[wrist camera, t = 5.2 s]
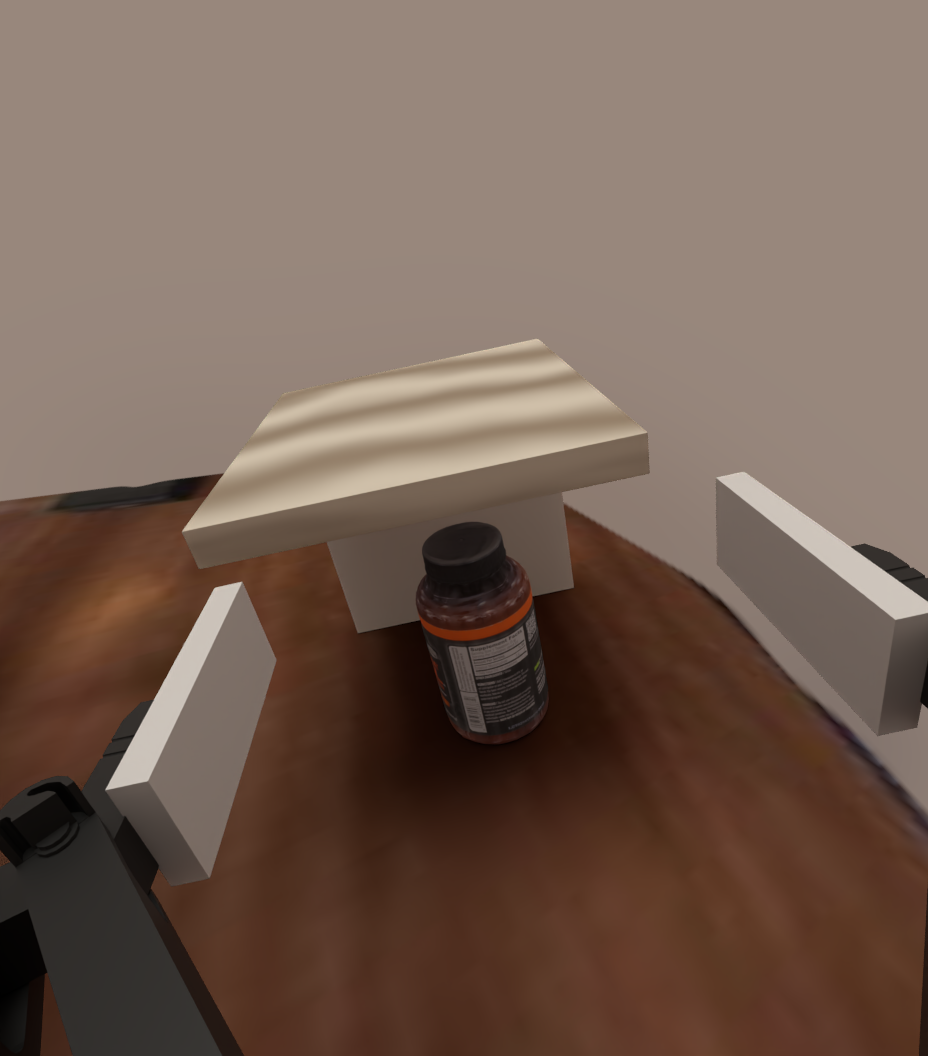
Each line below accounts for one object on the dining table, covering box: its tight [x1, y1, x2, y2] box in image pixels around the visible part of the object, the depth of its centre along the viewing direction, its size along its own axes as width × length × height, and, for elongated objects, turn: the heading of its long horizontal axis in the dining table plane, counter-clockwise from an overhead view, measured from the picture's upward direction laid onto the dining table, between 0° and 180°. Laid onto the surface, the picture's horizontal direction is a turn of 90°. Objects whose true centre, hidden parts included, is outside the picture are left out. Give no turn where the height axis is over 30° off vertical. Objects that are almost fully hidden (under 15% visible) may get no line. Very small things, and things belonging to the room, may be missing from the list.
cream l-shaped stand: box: [182, 339, 650, 633], centre depth 32 cm, size 19×16×18 cm
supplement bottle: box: [416, 522, 549, 745], centre depth 32 cm, size 6×6×11 cm
